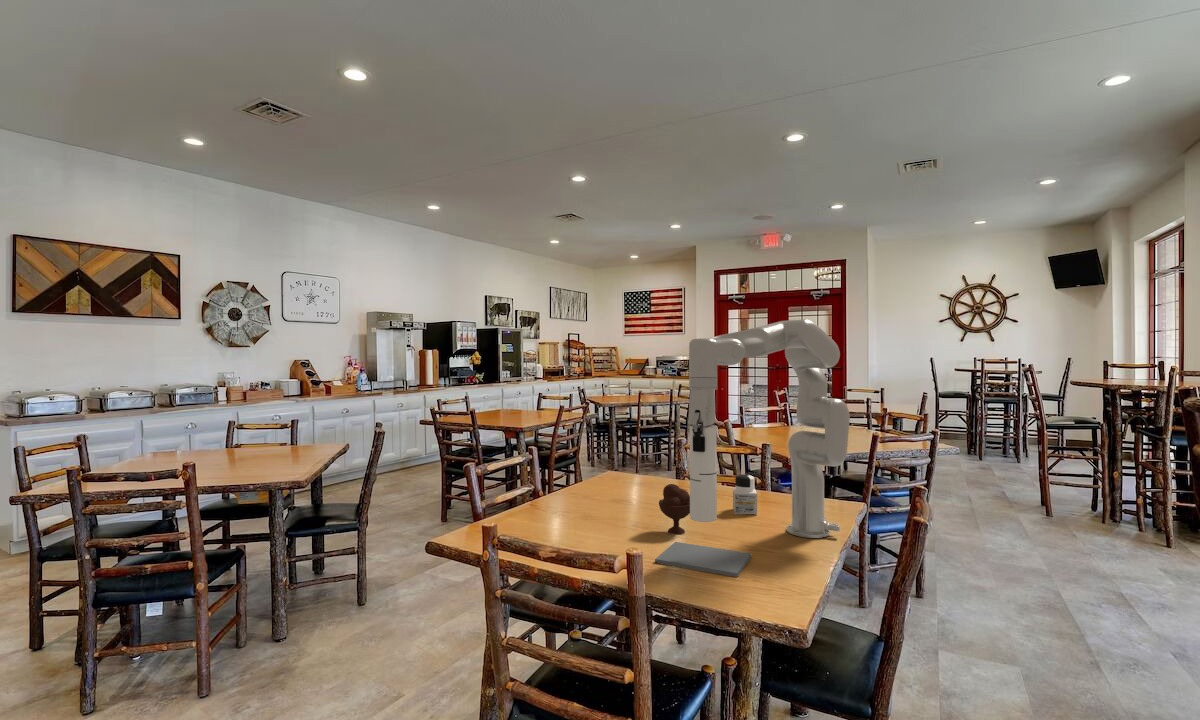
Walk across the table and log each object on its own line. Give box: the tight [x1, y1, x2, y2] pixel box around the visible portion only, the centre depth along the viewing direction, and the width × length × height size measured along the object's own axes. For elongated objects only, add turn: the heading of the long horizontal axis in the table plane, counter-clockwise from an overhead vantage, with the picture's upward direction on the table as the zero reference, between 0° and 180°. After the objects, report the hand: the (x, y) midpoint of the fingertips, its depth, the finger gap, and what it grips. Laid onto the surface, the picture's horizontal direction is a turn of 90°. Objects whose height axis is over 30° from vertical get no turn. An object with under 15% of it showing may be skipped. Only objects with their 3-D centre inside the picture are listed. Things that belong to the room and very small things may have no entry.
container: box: [732, 474, 758, 515], centre depth 200 cm, size 8×8×13 cm
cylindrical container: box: [689, 425, 718, 523], centre depth 153 cm, size 7×7×25 cm
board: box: [654, 541, 752, 578], centre depth 153 cm, size 22×16×1 cm
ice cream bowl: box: [658, 483, 690, 536], centre depth 177 cm, size 11×11×15 cm
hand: (703, 449), depth 153 cm, fingers closed on cylindrical container, 7 cm apart
